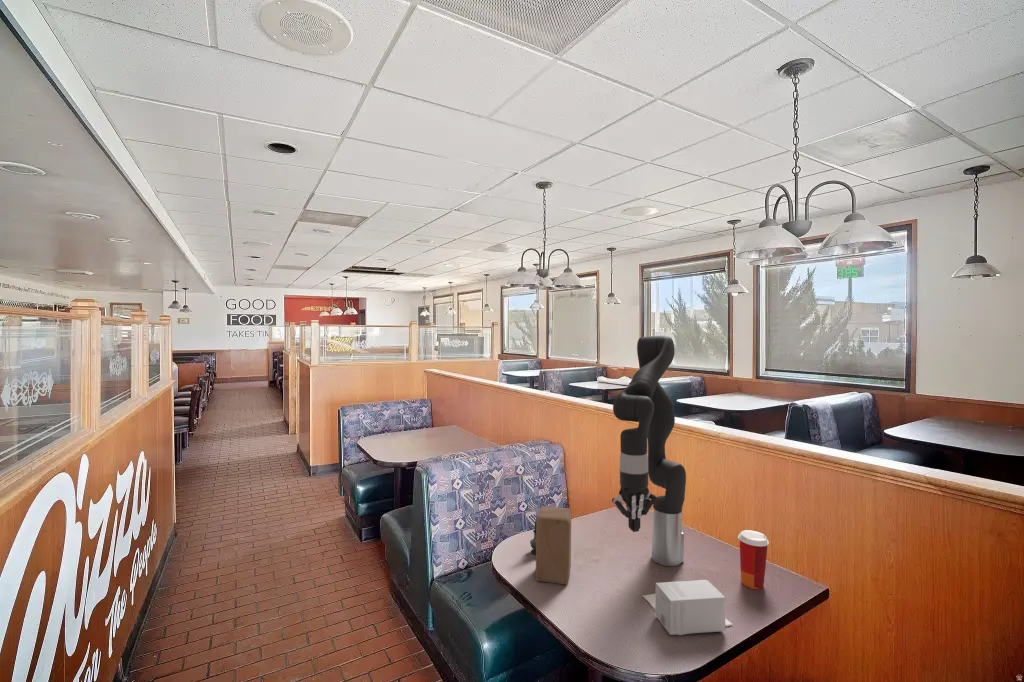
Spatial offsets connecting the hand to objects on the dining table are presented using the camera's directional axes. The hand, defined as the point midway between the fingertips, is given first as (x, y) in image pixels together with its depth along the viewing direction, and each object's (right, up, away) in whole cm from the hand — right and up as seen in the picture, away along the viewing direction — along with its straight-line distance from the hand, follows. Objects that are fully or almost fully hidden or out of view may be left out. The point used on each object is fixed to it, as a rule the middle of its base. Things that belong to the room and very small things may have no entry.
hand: (634, 530), depth 126 cm
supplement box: (+5, -17, -7) cm, 19 cm away
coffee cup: (+39, -22, +14) cm, 47 cm away
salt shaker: (-24, -21, +32) cm, 45 cm away
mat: (+14, -22, 0) cm, 26 cm away
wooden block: (-21, -21, +17) cm, 34 cm away
